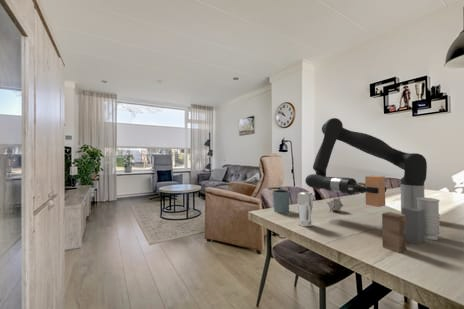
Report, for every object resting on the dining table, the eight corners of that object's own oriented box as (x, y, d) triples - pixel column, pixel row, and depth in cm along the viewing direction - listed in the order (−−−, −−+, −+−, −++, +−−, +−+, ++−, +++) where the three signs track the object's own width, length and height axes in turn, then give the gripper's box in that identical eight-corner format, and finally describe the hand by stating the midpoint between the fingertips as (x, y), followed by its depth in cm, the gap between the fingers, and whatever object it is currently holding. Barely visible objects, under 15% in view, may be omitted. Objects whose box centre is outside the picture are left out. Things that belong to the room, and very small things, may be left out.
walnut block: (390, 244, 78) (389, 211, 78) (406, 249, 73) (405, 215, 73) (382, 247, 75) (382, 213, 75) (398, 252, 71) (398, 217, 71)
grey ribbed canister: (412, 233, 88) (411, 197, 88) (429, 233, 87) (428, 197, 87) (426, 240, 81) (426, 201, 81) (445, 240, 81) (444, 200, 81)
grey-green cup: (272, 213, 120) (272, 192, 120) (272, 208, 130) (272, 189, 130) (291, 213, 118) (291, 192, 118) (289, 209, 128) (289, 189, 128)
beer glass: (295, 222, 103) (294, 192, 103) (309, 222, 104) (308, 191, 104) (301, 227, 96) (300, 194, 96) (315, 226, 97) (315, 194, 97)
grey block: (408, 236, 84) (408, 206, 84) (424, 241, 80) (424, 209, 80) (402, 239, 82) (401, 208, 82) (418, 244, 77) (417, 211, 77)
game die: (337, 217, 124) (348, 203, 124) (336, 215, 117) (347, 200, 117) (324, 207, 129) (334, 194, 129) (321, 205, 123) (332, 191, 122)
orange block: (372, 203, 91) (371, 175, 91) (385, 205, 87) (384, 176, 87) (365, 204, 89) (365, 176, 89) (378, 207, 85) (377, 177, 85)
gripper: (333, 178, 97) (371, 182, 82) (352, 176, 104) (391, 179, 89) (333, 194, 97) (372, 201, 82) (352, 191, 104) (391, 197, 89)
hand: (381, 190), depth 86 cm, fingers closed on orange block, 5 cm apart
